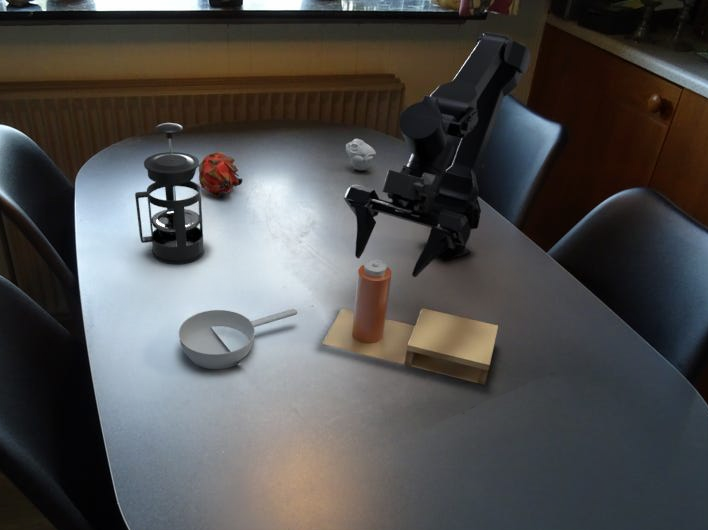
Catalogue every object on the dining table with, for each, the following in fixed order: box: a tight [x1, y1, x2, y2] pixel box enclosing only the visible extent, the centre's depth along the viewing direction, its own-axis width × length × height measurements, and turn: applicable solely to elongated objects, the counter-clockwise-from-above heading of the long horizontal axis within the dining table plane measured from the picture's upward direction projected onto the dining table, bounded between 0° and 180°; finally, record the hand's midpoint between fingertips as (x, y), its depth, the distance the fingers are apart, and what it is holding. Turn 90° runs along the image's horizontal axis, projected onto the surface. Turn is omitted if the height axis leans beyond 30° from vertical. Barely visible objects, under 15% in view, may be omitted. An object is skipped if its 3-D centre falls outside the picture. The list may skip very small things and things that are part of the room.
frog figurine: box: [345, 138, 377, 171], centre depth 155 cm, size 6×7×7 cm
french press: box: [134, 122, 206, 265], centre depth 114 cm, size 12×9×23 cm
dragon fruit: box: [197, 151, 244, 198], centre depth 141 cm, size 8×8×12 cm
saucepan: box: [178, 308, 298, 370], centre depth 99 cm, size 11×18×4 cm, turn 118°
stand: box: [322, 307, 499, 385], centre depth 100 cm, size 24×10×4 cm, turn 71°
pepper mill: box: [352, 259, 393, 343], centre depth 99 cm, size 5×5×12 cm
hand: (384, 266), depth 99 cm, fingers open, 9 cm apart
